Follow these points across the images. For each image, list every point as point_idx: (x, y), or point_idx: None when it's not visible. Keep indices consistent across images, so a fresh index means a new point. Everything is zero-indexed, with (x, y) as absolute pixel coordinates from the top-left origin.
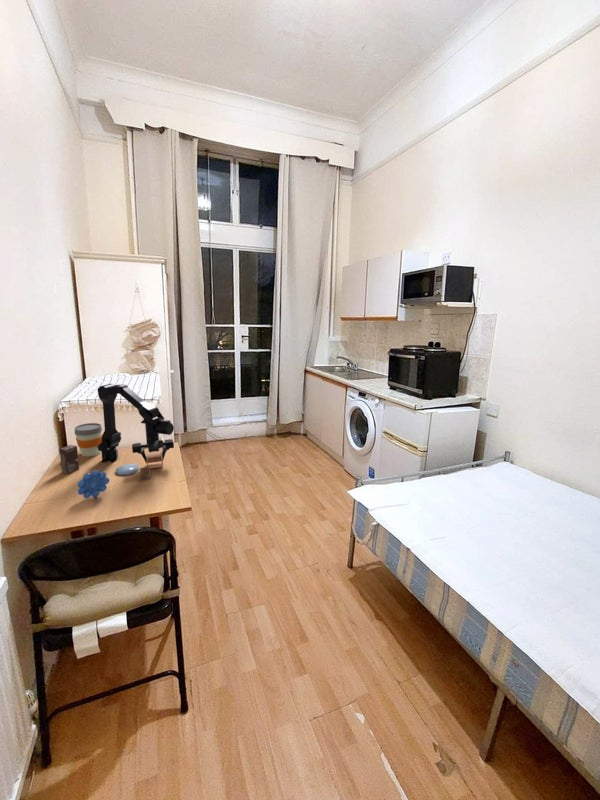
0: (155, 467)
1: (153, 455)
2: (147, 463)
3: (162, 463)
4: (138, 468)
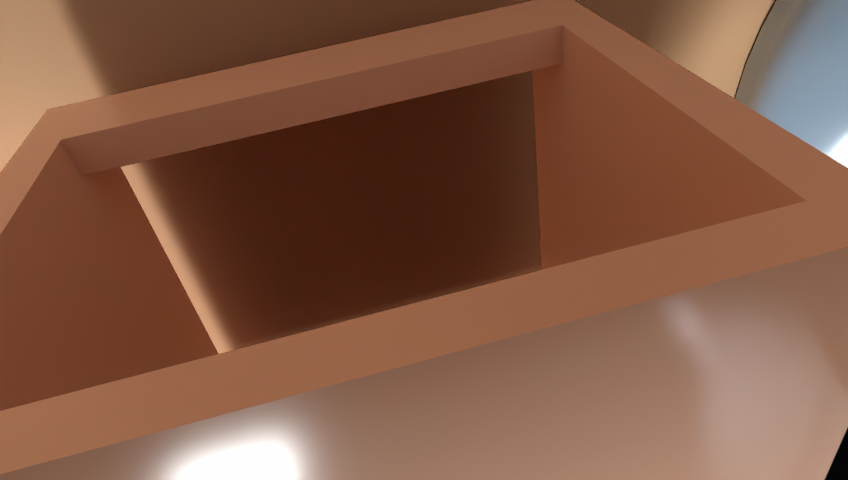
0: (305, 55)
1: (455, 476)
2: (638, 64)
3: (17, 163)
4: (772, 85)
